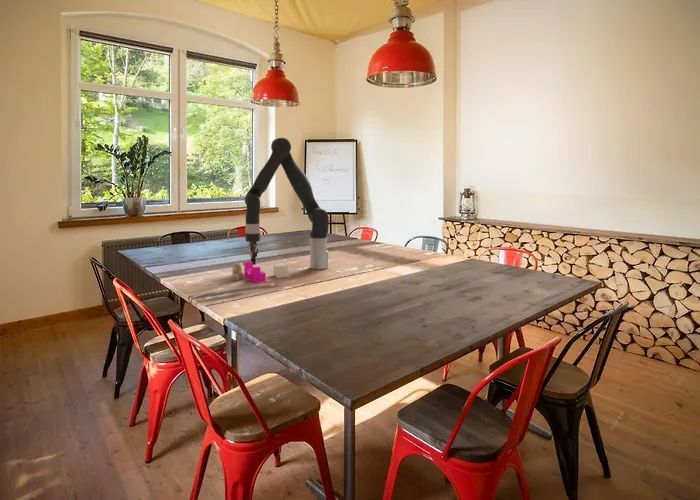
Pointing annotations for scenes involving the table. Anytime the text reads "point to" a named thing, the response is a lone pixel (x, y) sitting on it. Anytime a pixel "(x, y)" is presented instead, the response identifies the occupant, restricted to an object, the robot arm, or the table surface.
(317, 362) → the table surface
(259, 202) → the robot arm
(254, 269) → the toy block
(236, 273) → the birch cylinder
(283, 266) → the beige cube
